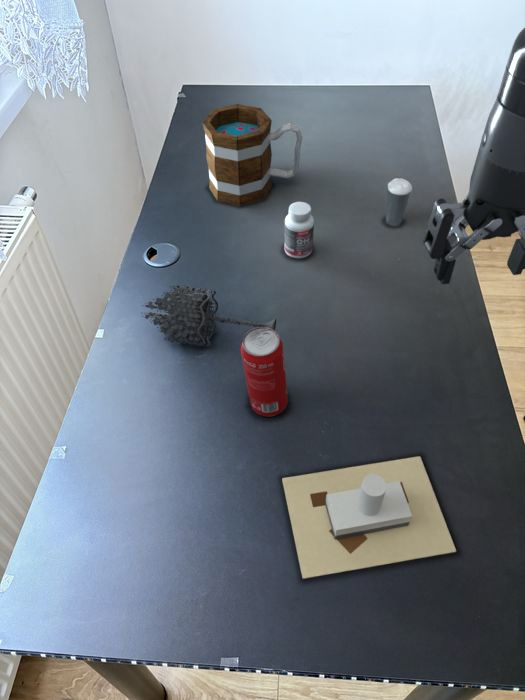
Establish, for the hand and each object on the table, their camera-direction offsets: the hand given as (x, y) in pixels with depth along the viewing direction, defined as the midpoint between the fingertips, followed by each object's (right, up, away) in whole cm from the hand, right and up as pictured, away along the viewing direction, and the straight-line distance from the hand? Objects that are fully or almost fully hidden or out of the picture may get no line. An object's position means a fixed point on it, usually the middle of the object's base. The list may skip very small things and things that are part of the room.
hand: (478, 274), depth 68 cm
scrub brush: (-11, -31, +11) cm, 34 cm away
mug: (-26, +26, +60) cm, 70 cm away
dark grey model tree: (-33, -7, +32) cm, 47 cm away
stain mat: (-11, -30, +11) cm, 34 cm away
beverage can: (-24, -17, +23) cm, 38 cm away
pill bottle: (-18, +10, +46) cm, 50 cm away
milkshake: (+1, +17, +51) cm, 54 cm away
